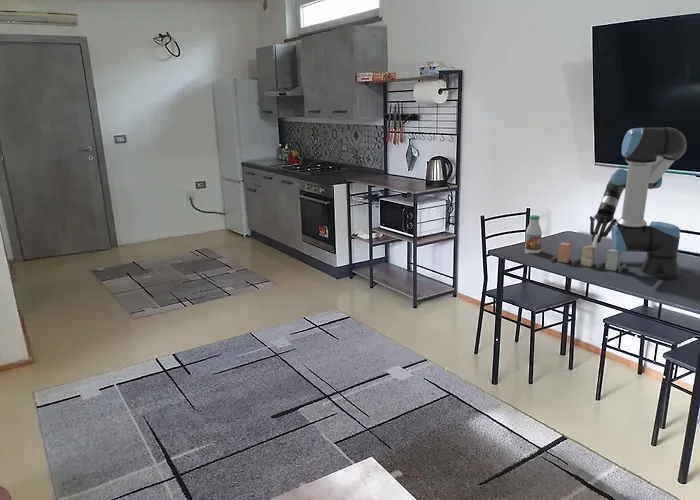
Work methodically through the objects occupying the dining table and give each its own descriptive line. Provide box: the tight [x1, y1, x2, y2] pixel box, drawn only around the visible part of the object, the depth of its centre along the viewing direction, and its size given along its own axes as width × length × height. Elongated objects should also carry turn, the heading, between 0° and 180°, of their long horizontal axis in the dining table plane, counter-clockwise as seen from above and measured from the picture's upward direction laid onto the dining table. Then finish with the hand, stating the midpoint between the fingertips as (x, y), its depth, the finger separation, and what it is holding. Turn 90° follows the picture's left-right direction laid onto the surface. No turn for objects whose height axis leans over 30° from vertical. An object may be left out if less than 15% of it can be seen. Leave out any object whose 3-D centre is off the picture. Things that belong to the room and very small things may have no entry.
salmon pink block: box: [556, 241, 573, 264], centre depth 261 cm, size 5×4×9 cm
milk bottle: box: [524, 214, 542, 255], centre depth 278 cm, size 8×8×20 cm
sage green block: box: [605, 248, 622, 272], centre depth 247 cm, size 5×4×9 cm
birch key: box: [580, 245, 597, 268], centre depth 254 cm, size 5×4×9 cm
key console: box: [550, 254, 627, 274], centre depth 255 cm, size 10×31×3 cm, turn 49°
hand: (593, 247), depth 260 cm, fingers closed
